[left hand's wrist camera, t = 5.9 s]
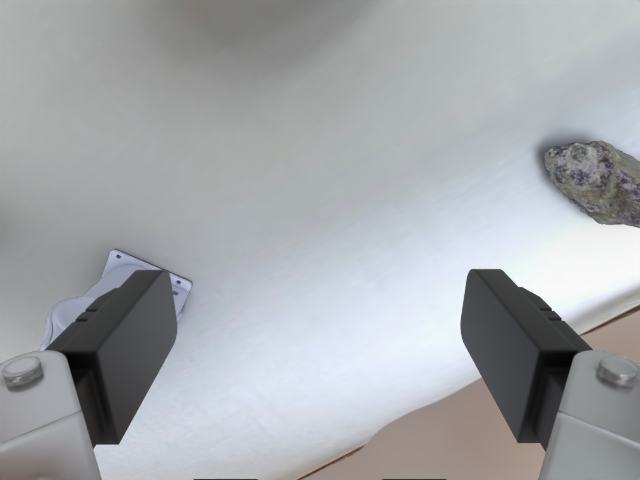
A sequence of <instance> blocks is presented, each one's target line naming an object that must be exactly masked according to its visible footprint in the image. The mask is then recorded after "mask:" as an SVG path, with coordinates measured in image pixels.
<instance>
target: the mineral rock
mask: <svg viewBox="0 0 640 480" xmlns="http://www.w3.org/2000/svg"><path fill="white" fill-rule="evenodd" d="M544 164H545V166H546V170H548V171H549V172H550V173H549V178H550V180H551V181H552V182H553V183H554V184H555V186H557V187H558V188H559V189H560V190H561V192H562V193H563V194H564V195H565V198H568V199H569V201H570V203H575V204H578V205H579V206H580V210H581V211H582V212H583V213H586V214H588V216H590V217H592V218H593V219H594V220H595V221H596V222H597V223H599V224H606V225H617V224H626V225H629V226H634V227H638V228H640V162H639V161H638V160H636V159H635V158H634V157H632V156H630V155H628V154H625V153H623V152H622V151H620V150H617V149H615V148H614V147H613V146H612V145H610V144H607V143H605V142H603V141H593V142H591V143H586V144H580V143H578V142H576V143H571V144H567V145H564V146H561V147H557V146H556V147H552V148H551V149H550V150H549V151H547V152H546V153H545V156H544Z"/></svg>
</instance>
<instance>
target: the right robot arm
mask: <svg viewBox="0 0 640 480" xmlns="http://www.w3.org/2000/svg"><path fill="white" fill-rule="evenodd" d="M118 255H120V256H121V258H120V257H118ZM136 270H162V269H160V268H158V267H155V266H153V265H151V264H148V263H146V262H144V261H141V260H139V259H137V258H134V257H132V256H130V255H127V254H125V253H123V252H120V251H118V250H112V251H111V252H110V254H109V257H108V260H107V263H106V265H105V268H104V271H103V274H102V277H101V280H100V281H99V282H98V283H97V284H95V285H94V286H93V287H92V288H91V289H90V290H89V291H88V292H87V293H86V294H85V295H83V296H82V297H76V298H71V299H67V300H64V301H61V302H59V303H58V304H56V305H55V306H54V307H52V308H51V310H50V311H49V313H48V315H47V318H46V329H45V333H44V336H43V339H42V342H41V346H40V349H39V351H42V350H45V349H46V348H47V347H48V346H49V345H50V344H51V343H52V342H53V341H54V340H55V339H56V338H57V337H58V336H59V335H60V334H61V333H62V332H63V331H64V330H65V329H66V328H67V327H68V326H69V325H70V324H71V323H72V322H75V319H76V318H77V317H78V316H79V315H80V314H81V313H82V312H85V309H86V308H87V307H88V306H89V305H90V304H91V303H92V302H93V301H94V300H96V299H97V298H98V297H100V296H101V295H103V294H105V293H107V292H109V291H110V290H112V289H114V288H119V287H120V286H121V285H122V284H123V283H124V282H125V281H126V280H127V279H128V278H129V277H130V276H131V275H132V274H133V273H134V272H135V271H136ZM169 274H170V277H171V283H172V290H173V297H174V303H175V310H176V317H177V324H178V322H179V320H180V317H181V315H182V313H181V309H182V307H183V305H184V303H185V300H186V298H187V296H188V294H189V291H190V289H191V287H192V283H191V282H190V281H188V280H186V279H183V278H181V277H179V276H176V275H174V274H172V273H169ZM177 280H179V281H180V282H181V283H178V281H177Z"/></svg>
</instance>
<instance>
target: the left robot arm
mask: <svg viewBox="0 0 640 480" xmlns="http://www.w3.org/2000/svg"><path fill="white" fill-rule="evenodd" d="M176 335H177V317H176V310H175V303H174V297H173V290H172V283H171V277H170V274H169V272H168V271H167V270H136V271H135V272H134V273H133V274H132V275H131V276H130V277H129V278H128V279H127V280H126V281H125V282H124V283H123V284H122V285H121V286H120V287H119V288H114V289H112V290H110V291H109V292H107V293H105V294H103V295H101V296H100V297H98V298H97V299H96V300H94V301H93V302H92V303H91V304H90V305H89V306H88V307H87V308H86V309H85V312H82V313H81V314H80V315H79V316H78V317H77V318H76V319H75V322H72V323H71V324H70V325H69V326H68V327H67V328H66V329H65V330H64V331H63V332H62V333H61V334H60V335H59V336H58V337H57V338H56V339H55V340H54V341H53V342H52V343H51V344H50V345H49V346H48V347H47V348H46V349H45V350H42V351H35V352H30V353H26V354H22V355H19V356H16V357H14V358H11V359H9V360H7V361H5V362H3V363H1V364H0V480H102V478H101V475H100V471H99V468H98V464H97V461H96V457H95V454H94V451H93V449H94V447H95V446H96V444H119V443H120V441H121V440H122V438H123V436H124V434H125V432H126V430H127V429H128V427H129V425H130V423H131V421H132V420H133V418H134V416H135V414H136V412H137V410H138V409H139V407H140V405H141V403H142V401H143V400H144V398H145V396H146V394H147V392H148V390H149V389H150V387H151V385H152V383H153V381H154V379H155V378H156V376H157V374H158V372H159V370H160V369H161V367H162V365H163V363H164V361H165V359H166V358H167V356H168V354H169V352H170V350H171V349H172V347H173V345H174V343H175V340H176ZM461 335H462V339H463V342H464V345H465V346H466V348H467V350H468V352H469V354H470V356H471V357H472V359H473V361H474V363H475V365H476V367H477V368H478V370H479V372H480V374H481V376H482V378H483V379H484V381H485V383H486V385H487V387H488V389H489V391H490V392H491V394H492V396H493V398H494V400H495V402H496V403H497V405H498V407H499V409H500V411H501V412H502V415H503V416H504V418H505V420H506V422H507V424H508V426H509V427H510V429H511V431H512V433H513V435H514V437H515V438H516V440H517V442H518V443H541V445H542V447H543V448H544V450H545V452H546V454H545V458H544V461H543V464H542V468H541V471H540V475H539V478H538V480H640V364H639V363H637V362H635V361H633V360H631V359H629V358H626V357H624V356H621V355H618V354H614V353H610V352H605V351H598V350H593V349H592V348H591V347H590V346H589V345H588V344H587V343H586V342H585V341H584V340H583V339H582V338H581V337H580V336H579V335H578V334H577V333H576V332H575V331H574V330H573V329H572V328H571V327H570V326H569V325H568V324H567V323H566V322H565V321H562V320H561V317H560V316H559V315H558V314H557V313H556V312H555V311H552V308H551V307H550V306H549V305H548V304H546V303H545V302H544V301H543V300H542V299H541V298H540V297H539V296H537V295H535V294H534V293H532V292H530V291H528V290H526V289H525V288H523V287H518V286H517V285H516V284H515V283H514V282H513V281H512V280H511V279H510V278H509V277H508V276H507V275H506V274H505V272H504V271H502V270H501V269H471V270H470V271H469V273H468V276H467V281H466V288H465V294H464V301H463V308H462V315H461ZM194 480H257V479H194ZM383 480H446V479H383Z"/></svg>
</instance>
